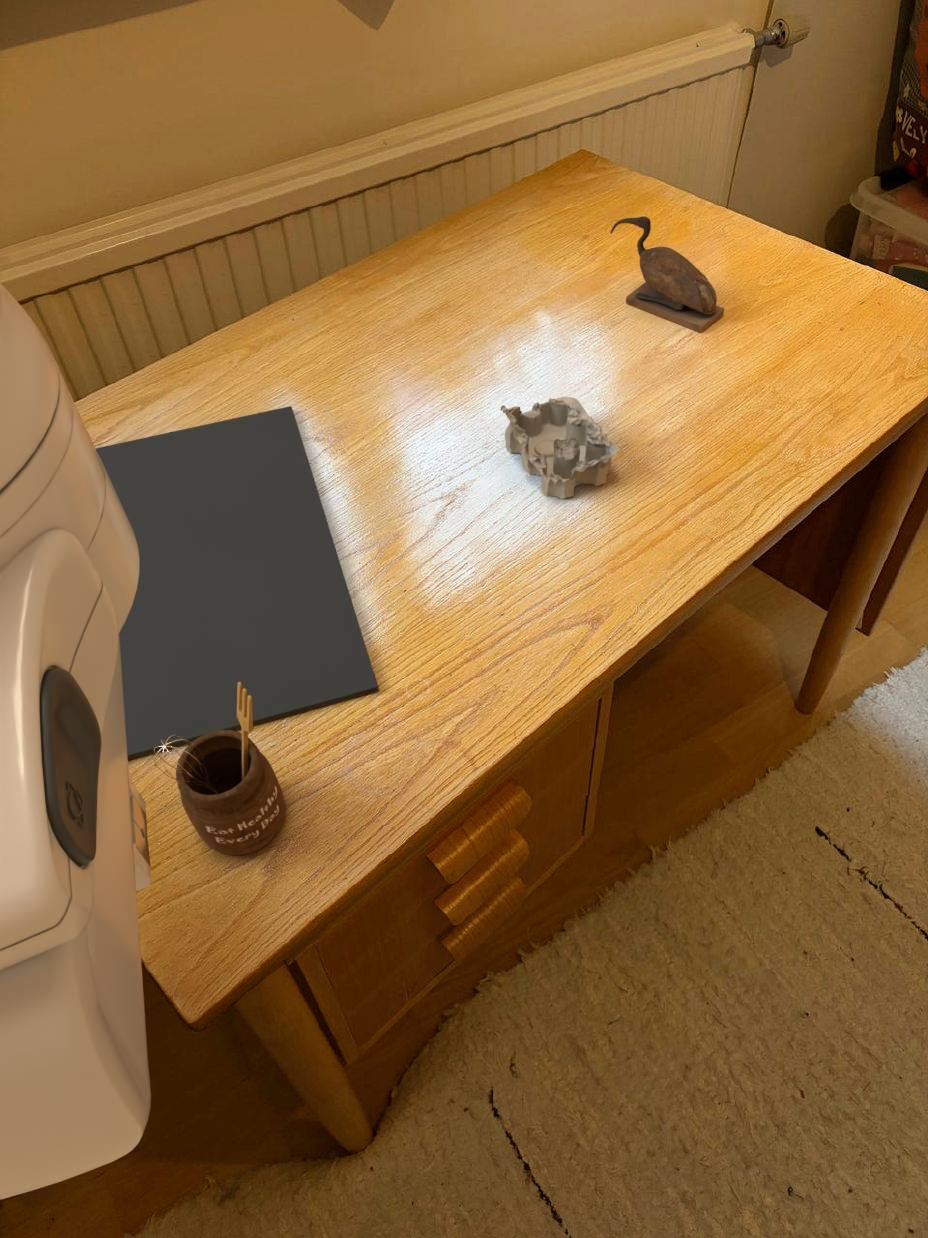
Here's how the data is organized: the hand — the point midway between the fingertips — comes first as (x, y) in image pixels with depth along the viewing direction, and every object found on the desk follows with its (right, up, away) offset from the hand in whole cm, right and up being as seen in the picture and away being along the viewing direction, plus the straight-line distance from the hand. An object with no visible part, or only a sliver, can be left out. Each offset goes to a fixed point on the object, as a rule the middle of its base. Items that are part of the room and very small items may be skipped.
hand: (124, 853), depth 28 cm
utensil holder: (-4, -6, +31) cm, 32 cm away
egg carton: (+20, +22, +53) cm, 61 cm away
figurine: (+32, +42, +69) cm, 87 cm away
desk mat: (-10, +13, +46) cm, 49 cm away
